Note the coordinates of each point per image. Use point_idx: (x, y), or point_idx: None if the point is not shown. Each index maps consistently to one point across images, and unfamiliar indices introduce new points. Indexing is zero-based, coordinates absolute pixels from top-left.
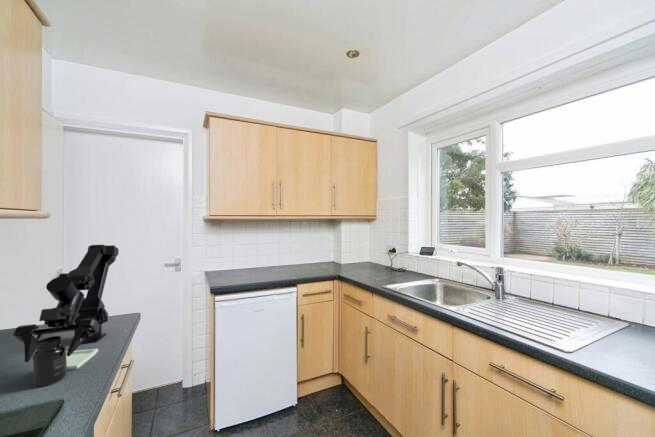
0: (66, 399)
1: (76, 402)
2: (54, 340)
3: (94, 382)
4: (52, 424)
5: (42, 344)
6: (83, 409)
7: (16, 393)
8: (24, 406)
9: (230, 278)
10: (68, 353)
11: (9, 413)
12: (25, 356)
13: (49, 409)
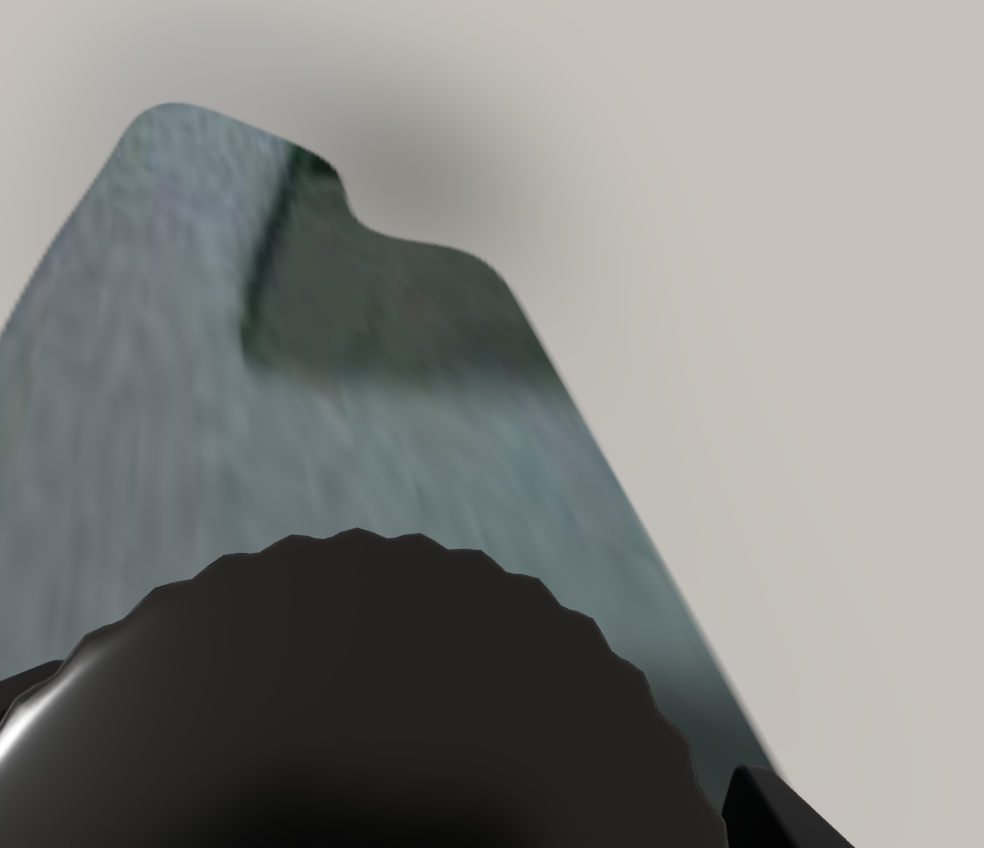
0: (229, 350)
1: (170, 288)
2: (107, 660)
3: (22, 502)
4: (275, 171)
5: (468, 550)
6: (137, 210)
7: (635, 646)
8: (475, 396)
9: None
10: (39, 667)
11: (532, 359)
12: (831, 835)
13: (313, 292)
